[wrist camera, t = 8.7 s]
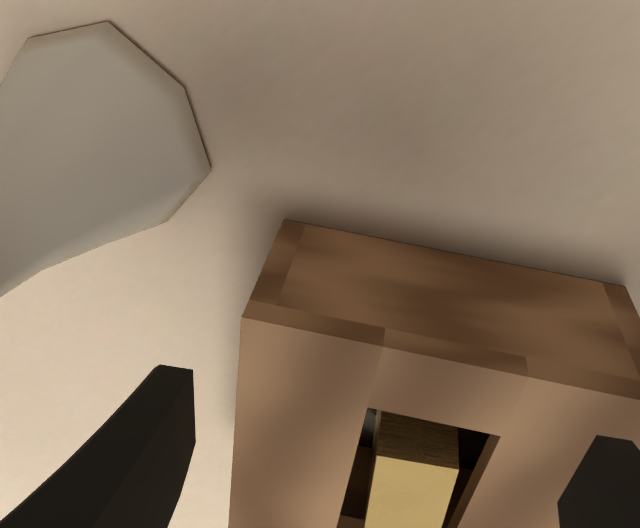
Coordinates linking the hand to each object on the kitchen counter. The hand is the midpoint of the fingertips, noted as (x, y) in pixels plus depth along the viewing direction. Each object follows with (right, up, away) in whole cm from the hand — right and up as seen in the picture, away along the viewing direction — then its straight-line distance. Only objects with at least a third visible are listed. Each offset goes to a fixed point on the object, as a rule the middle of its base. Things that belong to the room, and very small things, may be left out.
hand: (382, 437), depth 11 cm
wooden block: (+3, -2, +13) cm, 14 cm away
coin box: (+3, -1, +13) cm, 13 cm away
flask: (-8, +8, +9) cm, 15 cm away
